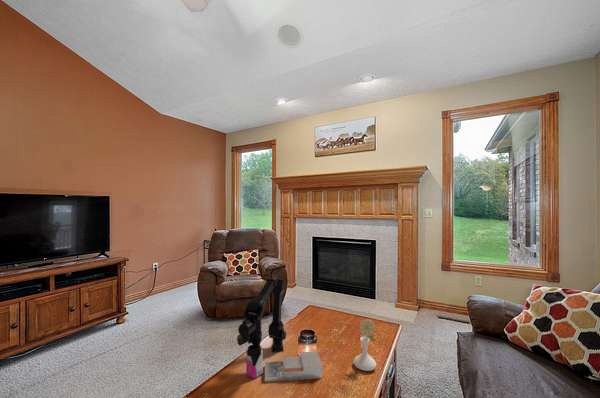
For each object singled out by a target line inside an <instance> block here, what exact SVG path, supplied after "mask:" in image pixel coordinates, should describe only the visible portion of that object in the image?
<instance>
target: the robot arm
mask: <svg viewBox="0 0 600 398" xmlns="http://www.w3.org/2000/svg"><path fill="white" fill-rule="evenodd" d="M286 287H287V281H286V280H285V279H284V278H279V277H278V278H277V277H269V278H267V279H266V281H265V284H264V285H263V287H262V288H261V289H260V291H259V293H258V294H257V295H256V296H254V297H252V298H251V299H250V300H249V302H248V303H247V306H246V307H245V308H246V309H245V312H244V314H243V318H244V320H242V322H241V323H240V325H239V326H238V328H237V329H238V335H237V337H236V340H237V341H236V342H237V344H238V346H242V345H244V344H248V347H247V350H246V351H247V355H248V356H250V357H251V359H252V363H253V366H256V363H257V361H258V359H259V357H260V355H261V350H262V346H261V343H262V338H263V332H262V316H263V315H264V311H265V308H266V301H267V300H268V298H269V297H270V295H271V293H272V294H273V302H272V303H273V305H272V321H271V322H270V324H269V325H268V331H267V333H268V338H270V339H272V344H271V352H284V344H283V343H284V342H283V341H284V340H286V337H287V332H286V331H285V329H284V328H285V327H284V323H283V321H282V306H283V304H282V303H283V293H284V292H285V290H286ZM245 318H246V319H245ZM249 344H250V345H249Z"/></svg>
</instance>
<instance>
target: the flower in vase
mask: <svg viewBox="0 0 600 398" xmlns="http://www.w3.org/2000/svg"><path fill="white" fill-rule="evenodd" d="M375 330H376V328H375V323H374V322H373V321H372V320H371V319H367V318H365V319H362V321H361V322H360V324H359V331H360V333H361V334H362V336H361V337H359V339H360V341H361V345H362V352H361V353H360V354H358V355H356V356H355V357H354V359H353V365H354V366H355V367H356V368H357V369H359V370H360V371H361V370H362V371H367V372H371V371H373V370H375V368H376V367H377V363H376V360H375V359H374V358H373V357H372V356H371V355H370V354H368V344H369V342H370V341H371V342H376V340H375V337H374V336H373V333H374V331H375Z"/></svg>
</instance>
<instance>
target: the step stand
mask: <svg viewBox="0 0 600 398" xmlns="http://www.w3.org/2000/svg"><path fill="white" fill-rule="evenodd" d="M299 353H300V354H299V356H282V360H280V361H266V362H264V383H267V382H268V383H271V382H272V383H273V382H282V381H284V382H285V381H296V380H297V381H298V380H300V381H301V380H316V379H322V378H323V363H322V361H321V357H320V355H319V352H318V351H300V352H299Z"/></svg>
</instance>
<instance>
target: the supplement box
mask: <svg viewBox="0 0 600 398" xmlns="http://www.w3.org/2000/svg"><path fill="white" fill-rule="evenodd" d="M245 352H246V357H245V358H246V359H245V360H246V363H245V365H246V366H245V367H246V376H248V377H249V378H250V379H253V380H256V379H258V378H259V377H260V376H262V375H263V374H264V372H263V371H264V370H263V369H264V368H263V367H264V363H263V361H264V360H263V359H264V358H263V357H264V356H263V353H264V351H263V349H261V355H260V357H259V359H258V361H257V363H256V366H253V363H252V359H251V357H250V356H248V355H247V350H246V351H245Z"/></svg>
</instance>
